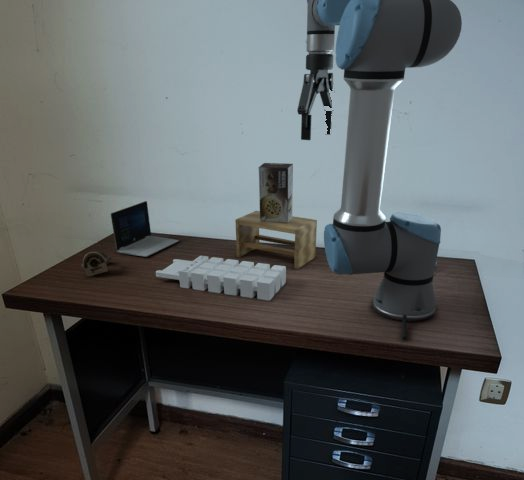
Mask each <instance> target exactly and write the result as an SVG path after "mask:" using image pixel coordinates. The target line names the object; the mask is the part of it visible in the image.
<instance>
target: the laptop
mask: <svg viewBox="0 0 524 480" xmlns="http://www.w3.org/2000/svg"><path fill="white" fill-rule="evenodd" d="M148 206H149V205H148V201H147V200H144V201H142V202H139V203H136V204H133V205H130V206H127V207H125V208H122V209H119V210H116V211H113V212H110V219H111V225H112V231H113V238H114V243H115V249H116V253H119V254H125V255H131V256H137V257H138V256H139V257H145V258H148V257H150V256H152V255H154V254H156V253H159V252H160V251H162V250H164V249H167V248H169V247H171V246H173V245H175V244H176V243H178V242H179V241H180V240H179V239H174V238H170V237H169V238H168V237H163V236H162V237H161V236H156V235H152V232H151V223H150V216H149V215H150V214H149V208H148Z"/></svg>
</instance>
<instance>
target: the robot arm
mask: <svg viewBox="0 0 524 480" xmlns="http://www.w3.org/2000/svg"><path fill="white" fill-rule="evenodd" d="M306 3H307V11H306V12H307V13H306V14H307V15H306V17H307V18H306V20H307V21H306V39H305V43H306V50H305V51H306V52H307V53H308V54H306V55H305V69H306V70H307V71H310V72H309V73H304V74H303V81H302V88H301V92H300V96H299V101H298V105H297V115H301V121H300V122H301V125H300V128H301V129H300V140H301V141H311V139H312V117H313V116H312V114H311V112H312V109H313V106H314V103H315V100H316V98H317V95H318V94H319V97H320V99H321V103H322V106H323V107H324V106H329V107H330V108H332V100H331V97H330V93H329V89H330V90H331V91H333V90H332V89H333V85H334V73H333V72H328V71H331V70H333V69H334V54H333V52H334V51H335V63H336V64H335V65H336V67H337V68H338V69H341V70H343V80H344V82H345V83H346V84H347V85H348V87H349V89H350V90H349V101H348V102H349V103H348V114H347V115H348V117H347V129H346V142H345V151H344V153H345V154H344V166H343V178H342V188H341V189H342V190H341V200H340V201H341V203H340V204H341V205H340V208H339V209H338V210H337V211H336V212H335V213H333V217H332V219H333V220H332V223H328V224H326V225H325V226H324V230H323V245H324V252H325V258H326V260H327V263H328V266H329V269H330V270H331V272H333V273H334V274H336V275H349V276H353V275H364V274H378V273H383V277H382V280H381V282H380V283H379V286H378V288H377V290H376V292H375V295H374V297H373V301H372V308H373V310H374V311H375V312H376V313H377V314H379V315H381V316H382V317H385V318H387V319H390V320H395V321H399V322H402V331H401V332H402V341H406V340H408V339H407V337H408V336H407V333H408V332H407V322H421V321H425V320H429V319H431V318H432V317H433V316H434V315H435V314H436V309H437V301H436V294H435V289H434V284H433V281H434V276H435V270H436V266H437V264H436V262H437V259H438V254H439V249H440V244H441V237H442V236H441V235H442V226H441V224H440V223H439V222H438V221H437V220H436V219H433V218H431V217H429V216H426V215H422V214H418V213H411V212H400V211H399V212H394V213H392V214H391V216H390V218H389V221H386V220H387V217H386V215H385V214H384V213H383V211H382V210H381V203H382V195H383V187H384V179H385V170H386V164H387V163H386V162H387V156H388V155H387V154H388V148H389V147H388V145H389V137H390V130H391V121H392V115H393V114H392V113H393V106H394V98H395V90H396V88H397V87H398V86H399V85H400V84H401V83H402V82H403V81H404V80H405V74H406V69H408V68H409V69H411V68H423V67H428V66H431V65H434V64H436V63H438V62H440V61H441V60H442V59H444V58H445V57H446V56H448V55H449V53H451V52H452V50H453V49H454V47H455V46H456V44H457V43H458V40H459V38H460V36H461V32H462V27H463V26H462V25H463V21H462V16H461V11H460V9H459V7H458V6H457V5H456V4H455V2H454V1H453V0H306ZM336 26H338V30H337V36H336V34H335V32H336ZM335 36H336V37H335ZM335 38H336V39H335ZM335 40H336V41H335ZM325 111H326V110H325ZM331 114H332V115H331ZM325 115H326V119H327V120H326V121H325V122H326V124H327V126H328V128H327V130H328V131H327V134H326V135H327V136H328V135H329V136H331V134H330V129H331V130H332V122H331V116H332V117H333V110H332V111H326V114H325ZM435 265H436V266H435Z"/></svg>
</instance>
